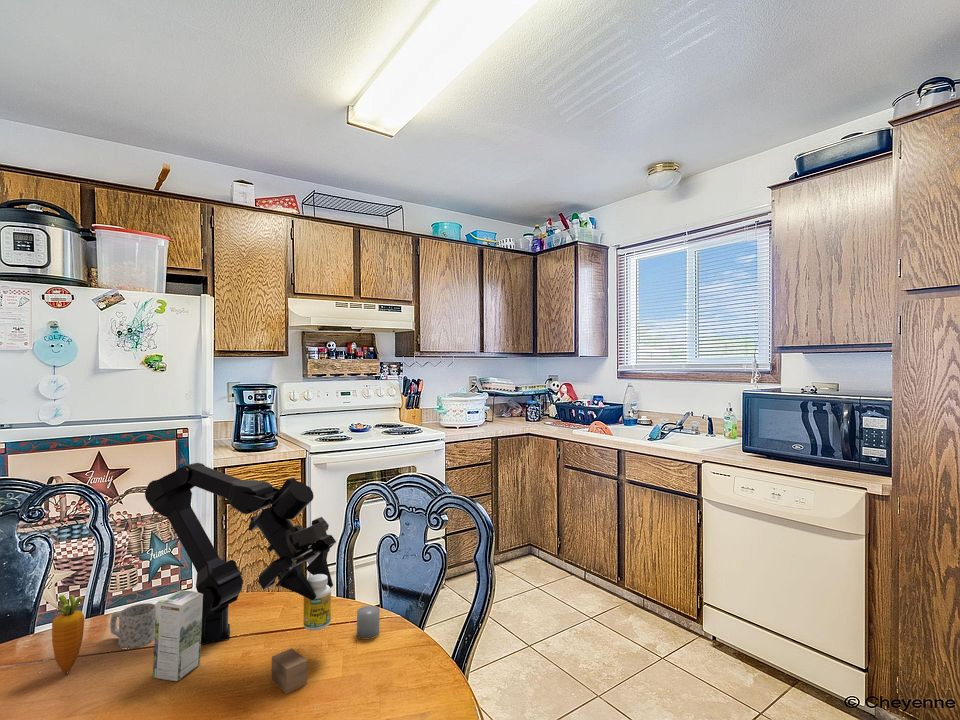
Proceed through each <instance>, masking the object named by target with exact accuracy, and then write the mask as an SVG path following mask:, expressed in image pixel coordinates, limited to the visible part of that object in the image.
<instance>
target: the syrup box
mask: <svg viewBox="0 0 960 720" xmlns="http://www.w3.org/2000/svg"><path fill="white" fill-rule="evenodd" d="M155 605H156V620H155V639H154V640H153V641H154V642H153V643H154V645H153V646H154V647H153V648H154V649H153V663H152V677H153V679H160V680H165V681H166V680H167V681H171V682H179V681H180V680H182V679H183V678H184V677H186V676H187V675H189V674H190V673H191V672H192V671H194V670H195V669H197V667H199V666H201V649H202V648H201V647H202V644H201V629H202V607H203V594H202V593H198V592H197V591H193V590H187V589H186V590H181V589H180V590H178V591H176V592H174V593H172V594H170V595H168V596H167V597H164V598H163V599H160V600H159V601H157V602H156V603H155Z"/></svg>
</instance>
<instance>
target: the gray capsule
mask: <svg viewBox="0 0 960 720" xmlns="http://www.w3.org/2000/svg"><path fill="white" fill-rule="evenodd" d="M380 613H381V609H380V608H379V607H378V606H376V605H365V606H362V607H360V608H358V609H357V611H356V636H357V637H358V638H359V637H360V638H359V639H361V638H371V639H373V638H372V637H374V636H376V635H377V636H378V635H380V625H381V624H380V620H381V619H380V616H381V615H380ZM377 636H376V637H377ZM374 638H375V637H374Z"/></svg>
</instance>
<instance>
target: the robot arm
mask: <svg viewBox="0 0 960 720" xmlns="http://www.w3.org/2000/svg"><path fill="white" fill-rule="evenodd" d="M195 487H196V488H198V489H200V490H203V491H206V492H209V493H212V494H213V495H217V496H219V497H221V498H224V499H226V500H227V501H228V503H229V505H230V506H231V507H232V508H234V509H235V510H237V512H240V513H241V514H244V515H248V514H252V513H255V512H258V511H260V512H259V513H258V514H256V515H254V516H251V517H250V521H249V524H248V531H249V532H250V531H253V530H256V529H259V530H260V532H261V533H262V535H263V536H264V539H265V540H266V541H267V543H268V544H269V545H268V547H267V548H266V550H267V551H268V552H269V553H271V552H275V554H276V555H277V557H278V558H277V559H275V560H272V561H271V562H270V564H269V565H268V566H267V567H266V568H264V569H263V571H262V572H261V573H259V575H258V584H259V585H260V587H261V588H262V590H263V591H265V590H266V589H268V588H270V587H272V586H273V585H274V584H275V583H276V579H277V580H278V581H277V583H276V584H275V587H277V588H278V587H281V588H283V589H287V590H288V591H291V592H294V593H296V594H298V595H300V596H302V597H303V598H304V597H306V598H308V599H310V600H314V599H315V598H316V594H315V592H314V590H313V589H312V587H311V585H310V584H309V582H308V581H307V579H308V578H306V576H305V575H304V570H303V569H304V568H303V567H304V565H303V563H304V562H306V563H307V567H305V571H307V572H309V574H310V575H311V576H312V575H316V574H324V575H327V577H328V583H327V585H328V586H329V587H330V588H331V589H332V588H333V586H334V584H333V580H332V576H331V572H330V570H329V564H328V560H327V559H328V555H329V552H330V551H331V548H332V547H333V546H334V545H335V544H336V543H337V541H336V539H335V538H334V536H333V535H332V534H328V533H327V531H328V529H329V526H330V525H329V523H327V520H325V518H323V516H320V517H318V518H315V519H313V520H312V521H311V525H310V526H308V527H305V528H303V526H302V525H299V524H298V525H294V524H293V523H292V521H291V520H293V519H296V517H298V515H299V514H301V513H302V511H304V510H305V508H306V507H308V505H309V504H310V503H311V502H312V501H313V500H314V492H313V489H312V488H311V487H310V486H308V485H307V484H306V483H304V482H302V481H300V480H299V481H297V479H296V478H295V477H290V478H287V479H286V480H285V481H284V483H283V485H282V486H281V487H280V488H277V487H274V486H273V485H272V484H271V483H270V482H268V481H262V480H258V479H257V480H256V479H242V478H241V479H240V478H238V477H235V476H233V475H229V474H227V473H225V472H221V471H218V470H216V469H213V468H212V467H208V466H206V465H205V464H204V463H200V462H195V463H188V464H184V465H182V466H180V467H178V468H177V469H176V470H174V471H173V472H171V473H168V474H166V475H164V476H162V477H160V478H158V479H156V480H152V481H150V482H149V483H148V484H147V486H146V488H145V490H144V497H145V500H146V502H147V503H148V504H149V506H150V507H151V508H152V510H153V511H154V512H156V513H158V514H159V515H161V516H163V517H164V518H166V519H167V520H168V521H169V523H170V525H171V527H172V528H173V530H174V533H175V535H176V536H177V538H178V539H179V541H180V544H181V545H182V547H183V549H184V551H185V552H186V554H187V556H188V558H189V560H190V562H191V564H192V566H193V567H194V569H195V571H196V573H197V575H196V581H195V588H196V592H198V593H202V594H203V607H202V629H201V645H204V644H205V645H206V644H210V643H216V642H220V641H223V640H228V639H229V640H230V638H231V623H229V605H231V604H232V603H235V602H237V601H238V598H239V595H240V593H241V592H242V590H243V584H244V580H243V576H242V575H243V573H242V572H241V571H240V569H239V568H238V566H237V564H236V561H235V560H234V559H229V560H227V561H226V560H224V559H222V558H221V557H220V555H219V554H218V552H217V551H216V549H215V547H214V545H213V542H212V541H211V539H210V537H209V536H208V534H207V532H206V531H205V529H204V527H203V525H202V524H201V522H200V520H199V519H198V517H197V514H196V513H195V511H194V510H193V507H192V504H191V503H192V497H193V493H192V489H194V488H195Z"/></svg>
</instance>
